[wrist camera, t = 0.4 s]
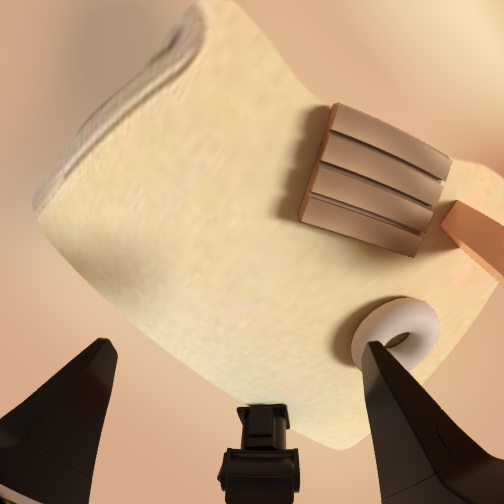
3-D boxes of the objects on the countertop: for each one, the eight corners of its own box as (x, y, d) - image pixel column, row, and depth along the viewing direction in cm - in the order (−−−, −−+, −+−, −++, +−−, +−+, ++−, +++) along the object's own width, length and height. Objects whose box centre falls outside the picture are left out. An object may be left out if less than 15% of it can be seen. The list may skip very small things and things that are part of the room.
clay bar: (459, 248, 21) (528, 312, 11) (439, 225, 21) (517, 289, 11) (476, 224, 20) (550, 280, 10) (457, 199, 19) (541, 252, 10)
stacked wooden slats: (402, 249, 22) (412, 260, 20) (297, 215, 21) (300, 224, 19) (439, 154, 18) (453, 158, 16) (333, 104, 17) (340, 101, 16)
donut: (329, 349, 28) (393, 369, 29) (333, 373, 24) (400, 390, 26) (387, 275, 23) (446, 308, 25) (400, 295, 20) (460, 327, 21)
